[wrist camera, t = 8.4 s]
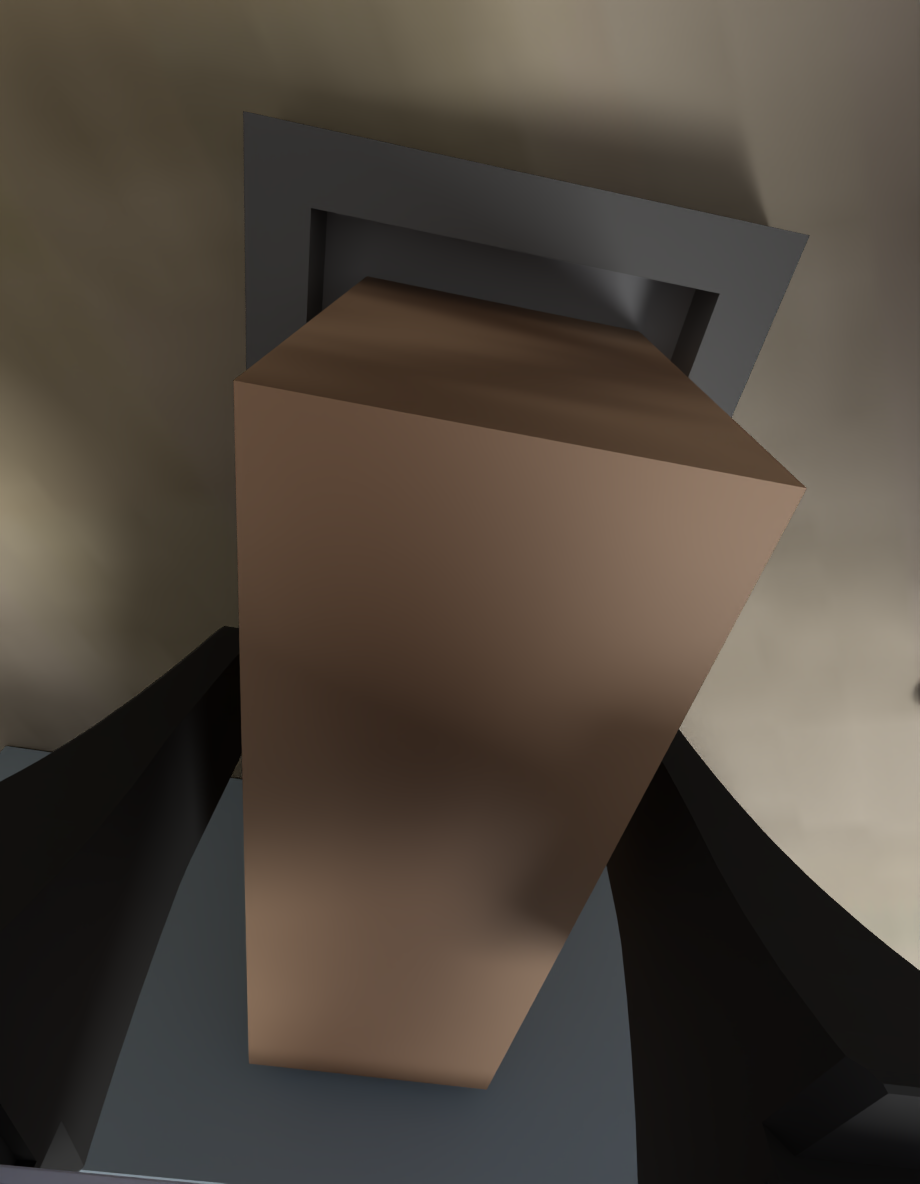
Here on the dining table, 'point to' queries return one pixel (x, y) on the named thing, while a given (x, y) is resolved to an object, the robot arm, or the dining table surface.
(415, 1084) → the wall board
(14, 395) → the dining table surface
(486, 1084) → the brown wooden block
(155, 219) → the dining table surface
